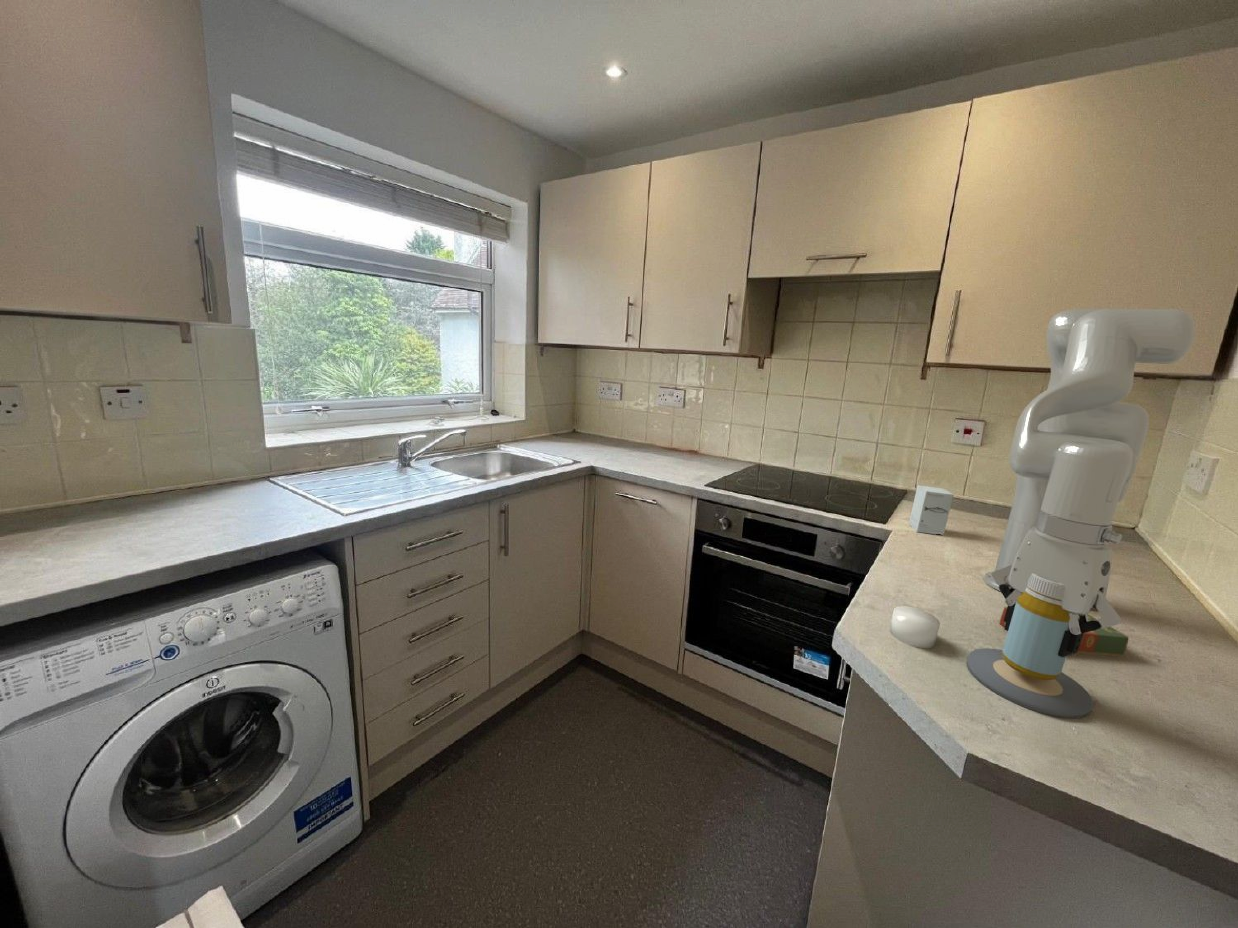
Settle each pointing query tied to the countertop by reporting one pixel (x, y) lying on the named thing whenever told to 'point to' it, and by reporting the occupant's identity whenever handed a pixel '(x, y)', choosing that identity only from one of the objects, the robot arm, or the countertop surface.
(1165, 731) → the countertop surface
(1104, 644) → the carton
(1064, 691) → the disc
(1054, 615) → the bottle
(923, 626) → the white smooth round part
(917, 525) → the supplement box
